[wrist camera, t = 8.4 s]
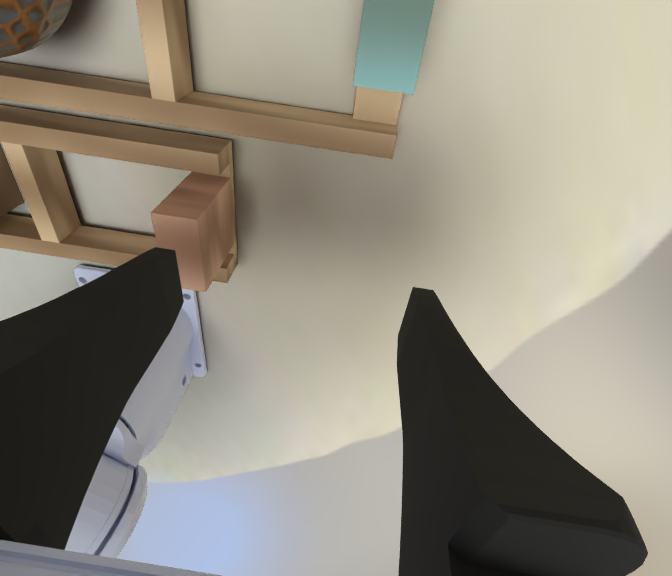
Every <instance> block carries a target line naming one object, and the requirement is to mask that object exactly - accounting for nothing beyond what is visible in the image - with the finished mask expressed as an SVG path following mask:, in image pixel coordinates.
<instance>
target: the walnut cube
mask: <svg viewBox="0 0 672 576" xmlns="http://www.w3.org/2000/svg"><path fill="white" fill-rule="evenodd" d="M23 202H24V200H23V197H22V195H21V192H20V190H19V188H18V185H17V183H16V180H15V178H14V176H13V173H12V171H11V169H10V166H9V164H8V161H7V159H6V157H5V154H4V152H3V149H2V147H1V145H0V217H1V216H2V215H4V214H6V213H7V212H9V211H10V210H12V209H14V208H15V207H17V206H19V205H20V204H22V203H23Z"/></svg>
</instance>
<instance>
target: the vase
mask: <svg viewBox="0 0 672 576" xmlns="http://www.w3.org/2000/svg"><path fill="white" fill-rule="evenodd" d="M72 1H73V0H0V58H1V57H7V56H11V55H15V54H19V53H22V52H25V51H27V50H30V49H33V48H35V47H37V46H38V45H40V44H42V43H43V42H45V41H46V40H47V39H49V38H50V37H51V36H52V35H53V34H54V33H55V32H56V31H57V30H58V29H59V28H60V26H61V25H62V24H63V22H64V20H65V19H66V17H67V15H68V13H69V10H70V8H71V5H72Z"/></svg>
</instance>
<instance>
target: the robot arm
mask: <svg viewBox="0 0 672 576" xmlns="http://www.w3.org/2000/svg"><path fill="white" fill-rule="evenodd" d="M74 275H75V277H76V280H77V283H78V285H79V287H78V288H76V289H74V290H72V291H70V292H68V293H66V294H64V295H62V296H60V297H58V298H56V299H54V300H52V301H50V302H47V303H45V304H43V305H40V306H38V307H36V308H33V309H31V310H28V311H26V312H23V313H21V314H18V315H16V316H13V317H11V318H8V319H5V320H2V321H0V576H221V575H215V574H209V573H202V572H196V571H190V570H184V569H177V568H172V567H166V566H159V565H153V564H147V563H140V562H134V561H128V560H122V559H116V558H117V556H118V555H119V553H120V552H121V550H122V549H123V547H124V546H125V544H126V542H127V541H128V539H129V537H130V536H131V534H132V532H133V530H134V528H135V526H136V524H137V522H138V519H139V517H140V515H141V512H142V510H143V507H144V503H145V500H146V495H147V473H146V470H145V469H144V468H143V467H142V466H140V465H138V463H139V461H140V460H141V459H142V458H144V457H145V456H146V455H148V454H149V453H150V452H151V451H152V450H153V449H154V448H155V447H156V446H157V445H158V443H159V442H160V440H161V439H162V437H163V435H164V433H165V431H166V429H167V427H168V425H169V423H170V421H171V419H172V417H173V415H174V413H175V411H176V409H177V407H178V405H179V403H180V400H181V398H182V396H183V394H184V392H185V390H186V388H187V386H188V384H189V382H190V380H191V378H192V376H196V377H204V376H205V375H206V373H207V368H206V361H205V353H204V346H203V339H202V332H201V325H200V318H199V311H198V304H197V296H196V291H194V290H188V289H182V287H181V281H180V275H179V269H178V263H177V257H176V252H175V250H171V249H165V248H158V247H154V248H152V249H150V250H148V251H146V252H144V253H142V254H140V255H139V256H137V257H135V258H133V259H131V260H129V261H128V262H126V263H124V264H122V265H120V266H118V267H117V268H115V269H113V270H109V269H103V268H96V267H90V266H83V265H79V266H77V267H76V268H75V269H74ZM187 294H189V295H190V296H188V295H187ZM397 372H398V384H399V396H400V407H401V419H402V430H403V484H402V485H403V486H402V517H401V540H400V559H399V576H626V575H627V574H629V573H631V572H633V571H635V570H636V569H637V568H639V567H640V566H641V565H642V564H643V562H644V561H645V559H646V557H647V554H648V552H647V549H646V546H645V543H644V541H643V539H642V537H641V534H640V532H639V530H638V528H637V525H636V523H635V521H634V519H633V517H632V515H631V512H630V511H629V508H628V507H627V504H626V503H625V501H624V499H623V497H622V496H620V495H619V494H618V493H616V492H615V491H614V490H612V489H611V488H610V487H609V486H607V485H606V484H605V483H603V482H602V481H601V480H600V479H598V478H597V477H596V476H594V475H593V474H592V473H591V472H589V471H588V470H587V469H585V468H584V467H583V466H581V465H580V464H579V463H578V462H577V461H575V460H574V459H573V458H572V457H571V456H569V455H568V454H567V453H566V452H565V451H564V450H563V449H561V448H560V447H559V446H558V445H557V444H556V443H554V442H553V441H552V440H551V439H550V438H549V437H548V436H547V435H545V434H544V433H543V432H542V431H541V430H540V429H539V428H538V427H537V426H536V425H535V424H534V423H533V422H532V421H531V420H530V419H529V418H528V417H527V416H526V415H525V414H524V413H523V412H521V411H520V409H519V408H518V407H517V406H516V405H515V404H514V403H513V402H512V401H511V400H510V399H509V398H508V397H507V395H506V394H505V393H504V392H503V391H502V390H501V389H500V388H499V386H498V385H497V384H496V383H495V382H494V381H493V380H492V378H491V377H490V376H489V375H488V373H487V372H486V371H485V370H484V368H483V367H482V366H481V364H480V363H479V362H478V360H477V359H476V357H475V356H474V355H473V353H472V352H471V350H470V349H469V348H468V346H467V345H466V343H465V342H464V340H463V338H462V337H461V335H460V334H459V332H458V331H457V329H456V328H455V326H454V324H453V323H452V321H451V319H450V318H449V316H448V314H447V313H446V311H445V309H444V308H443V306H442V304H441V302H440V301H439V299H438V297H437V295H436V294H435V292H434V291H433V290H428V289H422V288H415V287H413V289H412V292H411V295H410V298H409V302H408V305H407V308H406V311H405V315H404V318H403V321H402V324H401V328H400V331H399V334H398V349H397Z"/></svg>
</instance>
